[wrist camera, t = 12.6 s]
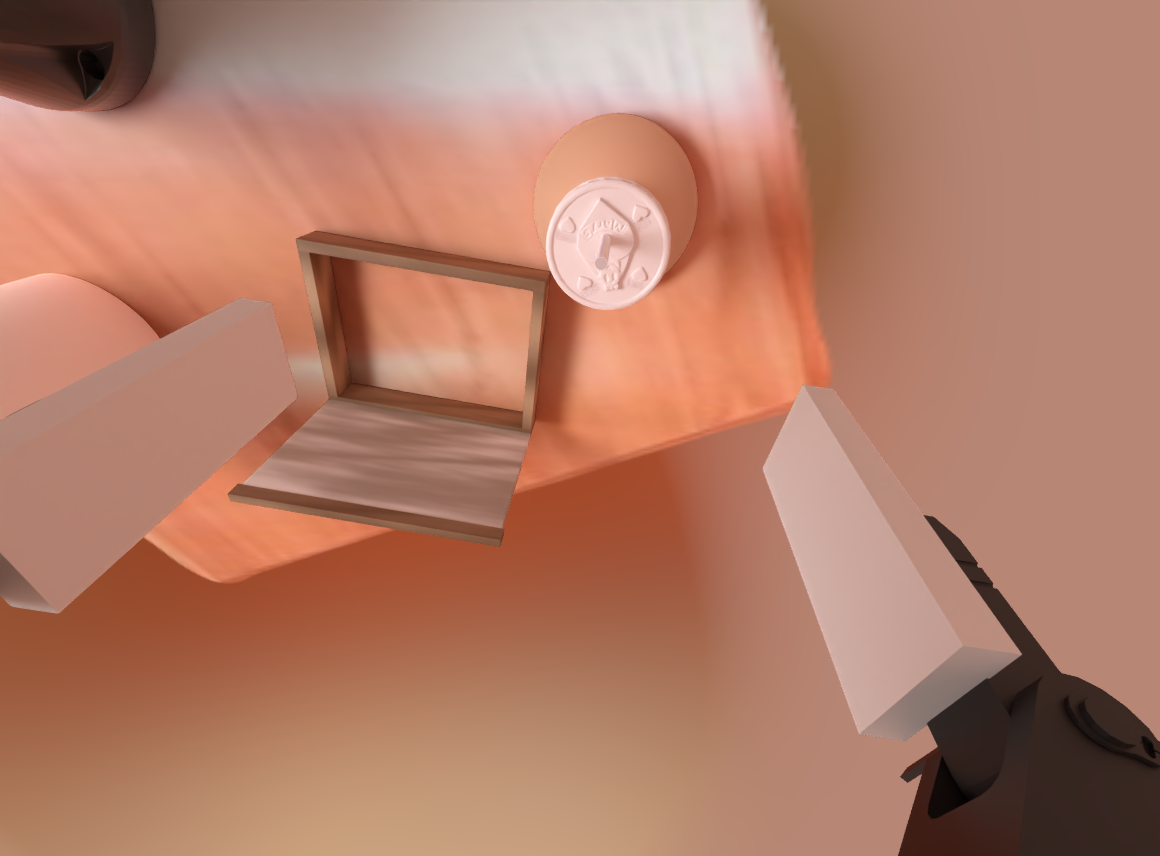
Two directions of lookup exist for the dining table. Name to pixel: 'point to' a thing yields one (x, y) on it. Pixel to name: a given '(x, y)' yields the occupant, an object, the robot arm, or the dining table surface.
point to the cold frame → (401, 421)
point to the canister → (60, 336)
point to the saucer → (621, 171)
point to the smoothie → (608, 243)
